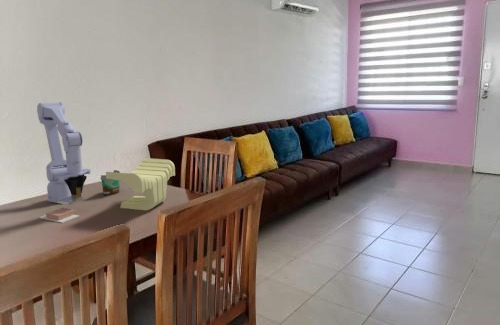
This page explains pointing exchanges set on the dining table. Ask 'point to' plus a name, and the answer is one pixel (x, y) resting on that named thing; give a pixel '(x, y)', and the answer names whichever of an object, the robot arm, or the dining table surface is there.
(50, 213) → the tile
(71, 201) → the turner
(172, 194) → the dining table surface
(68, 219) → the mat
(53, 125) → the robot arm
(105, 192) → the food container
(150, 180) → the slatted curved stool
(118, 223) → the dining table surface
